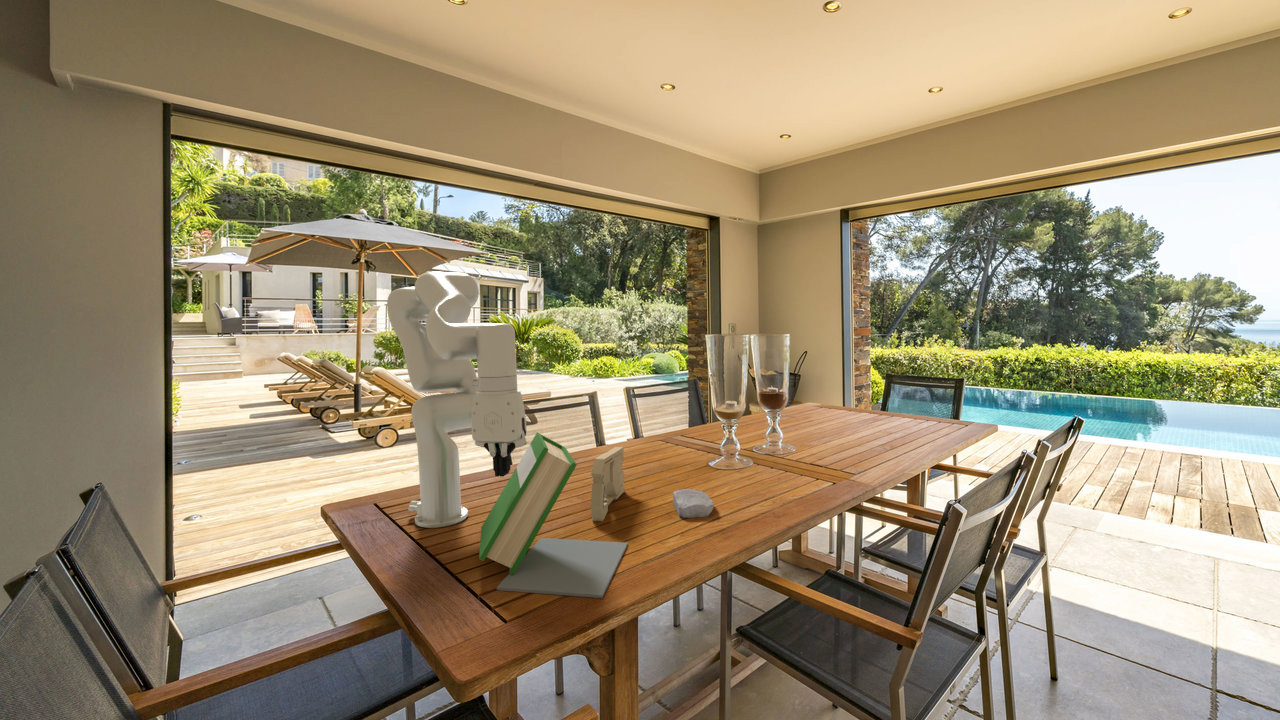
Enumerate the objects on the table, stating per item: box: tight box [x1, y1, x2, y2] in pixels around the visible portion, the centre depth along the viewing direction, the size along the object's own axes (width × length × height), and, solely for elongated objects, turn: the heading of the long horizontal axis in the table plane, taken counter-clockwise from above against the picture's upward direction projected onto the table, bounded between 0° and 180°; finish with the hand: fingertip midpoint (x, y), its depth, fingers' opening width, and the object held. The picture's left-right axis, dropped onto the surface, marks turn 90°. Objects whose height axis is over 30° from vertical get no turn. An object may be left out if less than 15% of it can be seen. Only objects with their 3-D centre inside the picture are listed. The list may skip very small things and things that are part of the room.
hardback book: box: [478, 432, 578, 575], centre depth 108 cm, size 18×7×24 cm
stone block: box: [672, 488, 715, 519], centre depth 133 cm, size 12×5×10 cm
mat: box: [496, 537, 629, 599], centre depth 104 cm, size 20×22×1 cm
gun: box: [590, 446, 626, 522], centre depth 137 cm, size 24×3×15 cm, turn 168°
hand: (502, 474), depth 105 cm, fingers closed
